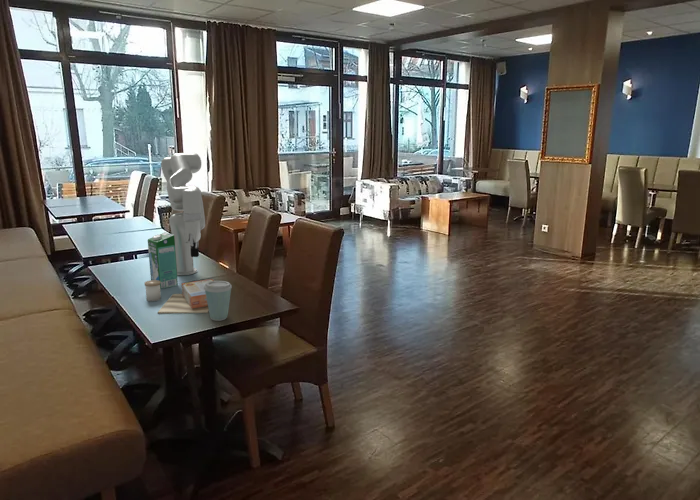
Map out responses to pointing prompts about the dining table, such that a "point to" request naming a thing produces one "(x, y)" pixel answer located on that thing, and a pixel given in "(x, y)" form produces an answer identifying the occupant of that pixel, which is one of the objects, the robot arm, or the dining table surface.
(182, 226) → the robot arm
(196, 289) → the cracker box
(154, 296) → the tan and white mushroom
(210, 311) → the disposable coffee cup
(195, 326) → the dining table surface
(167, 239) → the milk carton
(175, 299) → the beech board
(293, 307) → the dining table surface
